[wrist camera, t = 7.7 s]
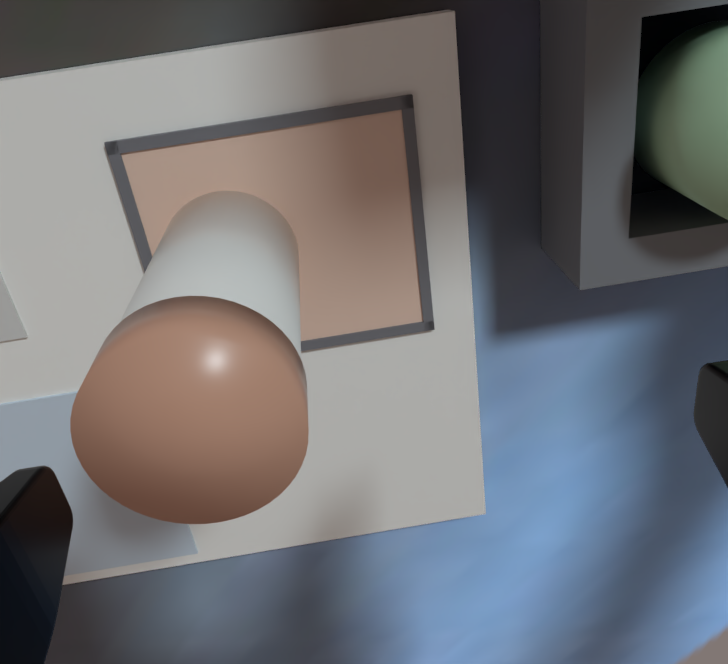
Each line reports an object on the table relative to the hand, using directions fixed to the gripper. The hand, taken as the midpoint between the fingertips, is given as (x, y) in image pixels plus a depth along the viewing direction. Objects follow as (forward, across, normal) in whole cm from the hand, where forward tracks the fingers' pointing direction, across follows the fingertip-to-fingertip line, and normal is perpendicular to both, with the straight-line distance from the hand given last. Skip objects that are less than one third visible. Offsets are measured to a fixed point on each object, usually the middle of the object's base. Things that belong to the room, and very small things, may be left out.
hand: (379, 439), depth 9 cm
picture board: (+10, +7, +4) cm, 13 cm away
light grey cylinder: (+10, +3, +1) cm, 10 cm away
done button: (+9, -9, -1) cm, 13 cm away
